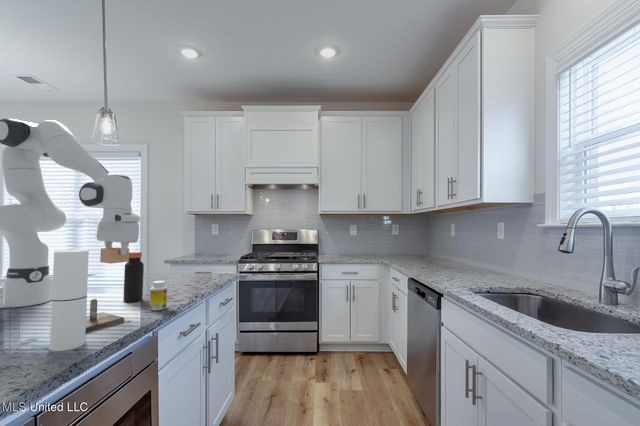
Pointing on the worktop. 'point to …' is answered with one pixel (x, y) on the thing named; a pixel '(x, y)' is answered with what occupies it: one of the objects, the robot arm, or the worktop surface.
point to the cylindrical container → (69, 299)
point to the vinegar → (133, 278)
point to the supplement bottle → (158, 296)
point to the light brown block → (113, 255)
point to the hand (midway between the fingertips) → (116, 254)
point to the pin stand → (100, 318)
